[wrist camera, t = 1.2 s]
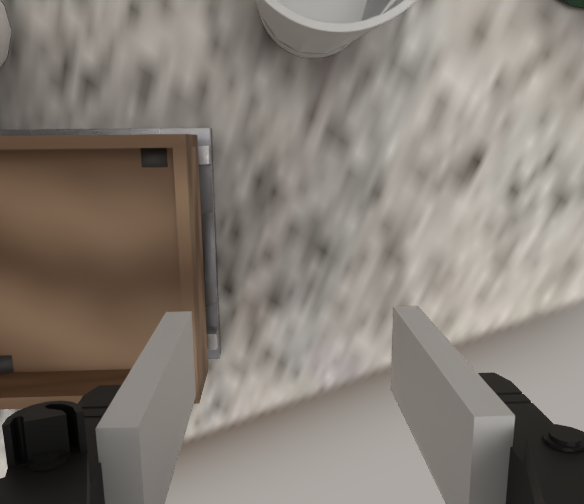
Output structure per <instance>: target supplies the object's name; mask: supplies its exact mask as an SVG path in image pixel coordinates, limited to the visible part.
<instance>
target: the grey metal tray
mask: <svg viewBox="0 0 584 504" xmlns="http://www.w3.org/2000/svg"><path fill="white" fill-rule="evenodd" d="M138 134H193V135H197V141H198V162H199V183H200V205H201V226H202V248H203V269H204V290H205V312H206V333H207V354H208V359H220V354H221V348H220V324H219V300H218V276H217V252H216V228H215V203H214V179H213V155H212V131H211V128H151V129H56V130H0V136H46V135H138Z"/></svg>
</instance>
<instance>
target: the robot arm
mask: <svg viewBox="0 0 584 504" xmlns="http://www.w3.org/2000/svg"><path fill="white" fill-rule="evenodd" d="M391 391H392V393H393V395H394V397H395V399H396V401H397V403H398V406H399V407H400V410H401V412H402V414H403V416H404V418H405V420H406V422H407V424H408V426H409V428H410V430H411V432H412V434H413V437H414V439H415V441H416V443H417V445H418V447H419V449H420V451H421V453H422V455H423V457H424V459H425V461H426V464H427V466H428V468H429V470H430V472H431V474H432V476H433V478H434V480H435V482H436V484H437V486H438V488H439V491H440V493H441V495H442V497H443V499H444V501H445V503H446V504H584V432H583V431H580V430H577V429H574V428H572V427H567V426H562V425H557V424H553V423H552V422H551V421H550V420H549V419H548V418H547V417H546V416H545V415H544V414H543V413H542V412H541V411H540V410H539V409H538V408H537V407H536V406H535V405H534V404H533V403H531V401H530V400H529V399H528V398H527V397H526V396H525V395H524V394H522V392H521V391H520V390H519V389H518V388H517V387H516V386H515V385H514V384H513V383H512V382H511V381H509V380H507V379H505V378H503V377H502V376H499V375H497V374H496V373H477V372H476V371H475V370H474V369H473V367H472V366H471V365H470V364H469V363H468V362H467V361H466V360H465V358H464V357H463V356H462V355H461V354H460V353H459V352H458V350H457V349H456V348H455V347H454V346H453V345H452V344H451V343H450V341H449V340H448V339H447V338H446V337H445V336H444V335H443V334H442V332H441V331H440V330H439V329H438V328H437V327H436V326H435V325H434V323H433V322H432V321H431V320H430V319H429V318H428V317H427V316H426V314H425V313H424V312H423V311H422V310H421V309H420V308H419V307H418V306H397V307H393V334H392V368H391ZM195 397H196V386H195V367H194V348H193V329H192V311H183V312H166V313H165V314H164V316H163V318H162V319H161V321H160V323H159V324H158V326H157V328H156V329H155V331H154V333H153V334H152V336H151V338H150V339H149V341H148V343H147V344H146V346H145V347H144V349H143V351H142V352H141V354H140V356H139V357H138V359H137V361H136V362H135V364H134V366H133V367H132V369H131V371H130V372H129V374H128V376H127V377H126V379H125V380H124V382H123V384H122V385H99V386H98V387H96V388H94V389H93V390H91V391H90V392H88V393H87V394H85V395H84V396H83V397H82V398H81V400H80V401H79V402H78V404H76V403H74V402H70V401H62V400H60V401H48V402H43V403H39V404H34V405H31V406H28V407H26V408H24V409H21V410H19V411H17V412H15V413H14V414H12V415H11V416H9V417H8V418H7V419H6V421H5V422H4V423H3V425H2V429H3V436H4V443H5V451H6V458H7V465H8V469H7V473H6V477H4V478H1V479H0V504H165V500H166V497H167V493H168V490H169V486H170V483H171V480H172V476H173V473H174V469H175V466H176V462H177V459H178V456H179V452H180V449H181V445H182V442H183V438H184V435H185V431H186V428H187V425H188V421H189V418H190V414H191V411H192V407H193V404H194V401H195Z"/></svg>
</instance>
